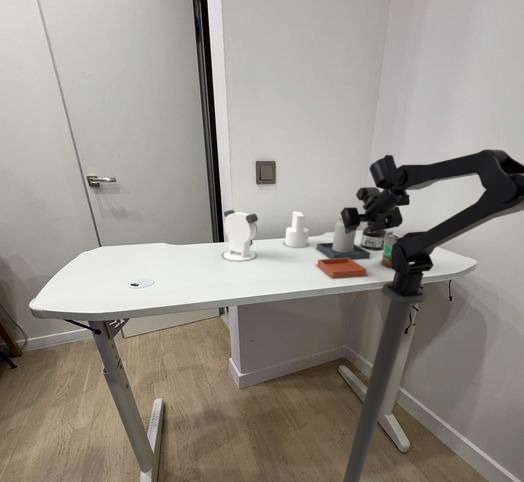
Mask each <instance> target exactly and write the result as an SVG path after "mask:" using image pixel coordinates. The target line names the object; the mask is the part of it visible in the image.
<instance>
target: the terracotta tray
mask: <svg viewBox="0 0 524 482" xmlns="http://www.w3.org/2000/svg"><path fill="white" fill-rule="evenodd" d="M316 266H317V267H319V268H320V269H321V270H322V271H324V272H325V274H327V275H328V276H329V277H330V278H332V279H340V278H351V277H364V276H366V274H367V269H368V268H367V269H366V268H365V267H364V266H362V265H360V264H359V263H357V261H355V260H354V259H350V258H336V259H330V258H324V259H317V265H316Z"/></svg>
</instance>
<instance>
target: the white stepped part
mask: <svg viewBox="0 0 524 482" xmlns="http://www.w3.org/2000/svg"><path fill="white" fill-rule="evenodd" d="M305 219H306V216H305V214H303V213H302V212H301V211H292V217H291V226H288V227H286V229H285V239H284V240H285V242H284V244H285V246H286V247H287V246H288V247H291V248H305V247H307V246H308V244H309V232H310V229H309V228H307V227H305V222H306V221H305Z"/></svg>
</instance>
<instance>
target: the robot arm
mask: <svg viewBox="0 0 524 482" xmlns="http://www.w3.org/2000/svg"><path fill="white" fill-rule="evenodd" d="M369 172H370V175H371V177H372V180H373V182H374V185H375V186H369V187H368V186H367V187H365V186H364V187H360V188H359V189H358V190H357V192H356V194H355V197H356V198H357V200H358V201H362V203H363V205H362V209H363V210H364V213H359V211H358V208H357V207H355V206H348V207H347V206H346V207H343V208H342V210H341V211H340V216H341V218H342V220H343V224H344V227H345V234H347V233H350V232H352V231H354V230H356V231H357V230H358V228H359V227H360V225H361V223H367V222H369V224H373V223H375V224H374V225H373V226H372V228H371V229H370V232H371V233H372V232H376V231H380V230H390V229H394V228H399V227H400V226H401V225H402V224H403V221H404V218H403V215H402V213H401V210H400V207H403V206H410V203H411V199H410V194H408V192H407V191H418V190H422V189H425V188H427V187H430V186H432V185H433V184H435V183H438V182H441V181H442V182H443V181H448V180H453V179H459V178H466V177H471V176H476V175H477V176H478V178H479V181H480V183H481V186H482V188H484V191H483V192H482V194H481V196H480V197H479V198H478V200H477V201H475V203H473V204H470V205H469V206H467V207H466V208H464V209H463V210H461V211H459V212H457V213H456V214H454V215H452V216H451V217H449V218H447V219H445V220H443V221H441V222H440V223H438V224H437V225H435V226H433V227H431V228H430V229H428V230H423V231H411V232H407V233H405V234H404V235H403V236H401V237H402V238H400V239H396V241H397V242H396V243H394V244H393V246H392V250H391V268H390V269H392V270H394V276H393V278H392V282H393V283H392V284H393V285H388V288H390V289H391V290H392V291H394V292H395V293H397V294H398V295H400V296H402V297H406V296H415V295H422V294H423V293H422V292H420V291H419V288H421V284H422V281H423V277H424V272H430V271H431V270H432V268H433V266H434V262H433V260H432V258H431V255H432V253H433V252H434V250H435V249H436V248H437V247H439V246H441V245H443V244H445V243H447V242H450V241H451V240H453V239H455V238H457V237H459V236H461V235H463V234H465V233H468V232H469V231H472V230H473V229H476V228H477V227H479V226H481V225H483V224H485V223H488V222H489V221H492V220H494V219H496V218H500V217H504V216H507V215H508V216H509V215H512V214H516V213H519V212H522V211H524V164H523V163H521V162H519V161H517V160H516V159H514V158H513V157H511V155H509V154H508V153H507V152H506V151H505V150H502V149H489V148H487V149H483V150H481V151H479V152H475V153H472V154H468V155H467V154H466V155H463V156H462V155H461V156H459V157H454V158H450V159H446V160H442V161H438V162H433V163H427V164H402V165H399V166H398V167H397V165H396V162H395V158H394V156H393V154H385V155H384V157H382V158H380V159H377V160H376V161H374V162H372V163H371V164H370V165H369ZM379 189H381V191H380V190H379ZM408 263H409V264H408Z"/></svg>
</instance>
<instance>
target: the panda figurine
mask: <svg viewBox="0 0 524 482" xmlns="http://www.w3.org/2000/svg"><path fill="white" fill-rule="evenodd" d="M223 216H224V219H225V220H224V224H223V225H224V226H223V227H224V232H225V234H226V236H227V237H228V250H227V251H225V252H224V253H223V257H224V259H226V260H229V261H235V262H243V261H244V262H245V261H249V260H253V259H255V257H256V253H255V252H254V251H252V250H250V249H251V246H253V239H254V238H255V237H256V235H257V233H258V226H257V223H256V222H258V221H259V219H258V215H257V214H256V213H251V214H249V213H246V212H242V211H237V212H235V210H234V209H230V210H225V211H224V212H223Z"/></svg>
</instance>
